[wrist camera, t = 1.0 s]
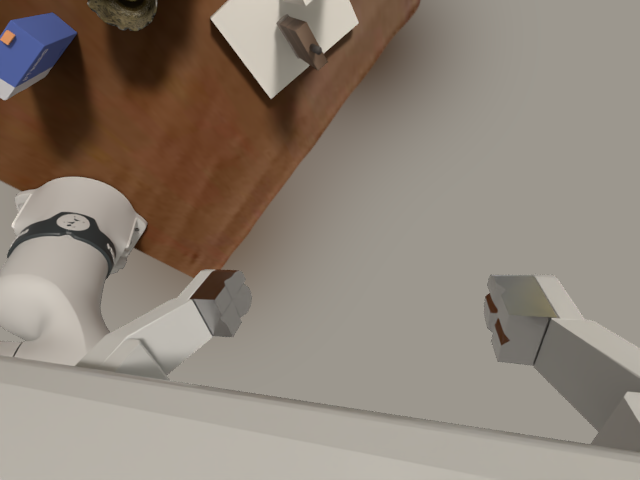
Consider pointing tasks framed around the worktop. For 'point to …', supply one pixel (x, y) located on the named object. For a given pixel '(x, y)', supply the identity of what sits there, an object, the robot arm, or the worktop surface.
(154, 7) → the cup
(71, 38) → the walkman
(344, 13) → the stand
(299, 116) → the worktop surface
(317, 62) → the lever
